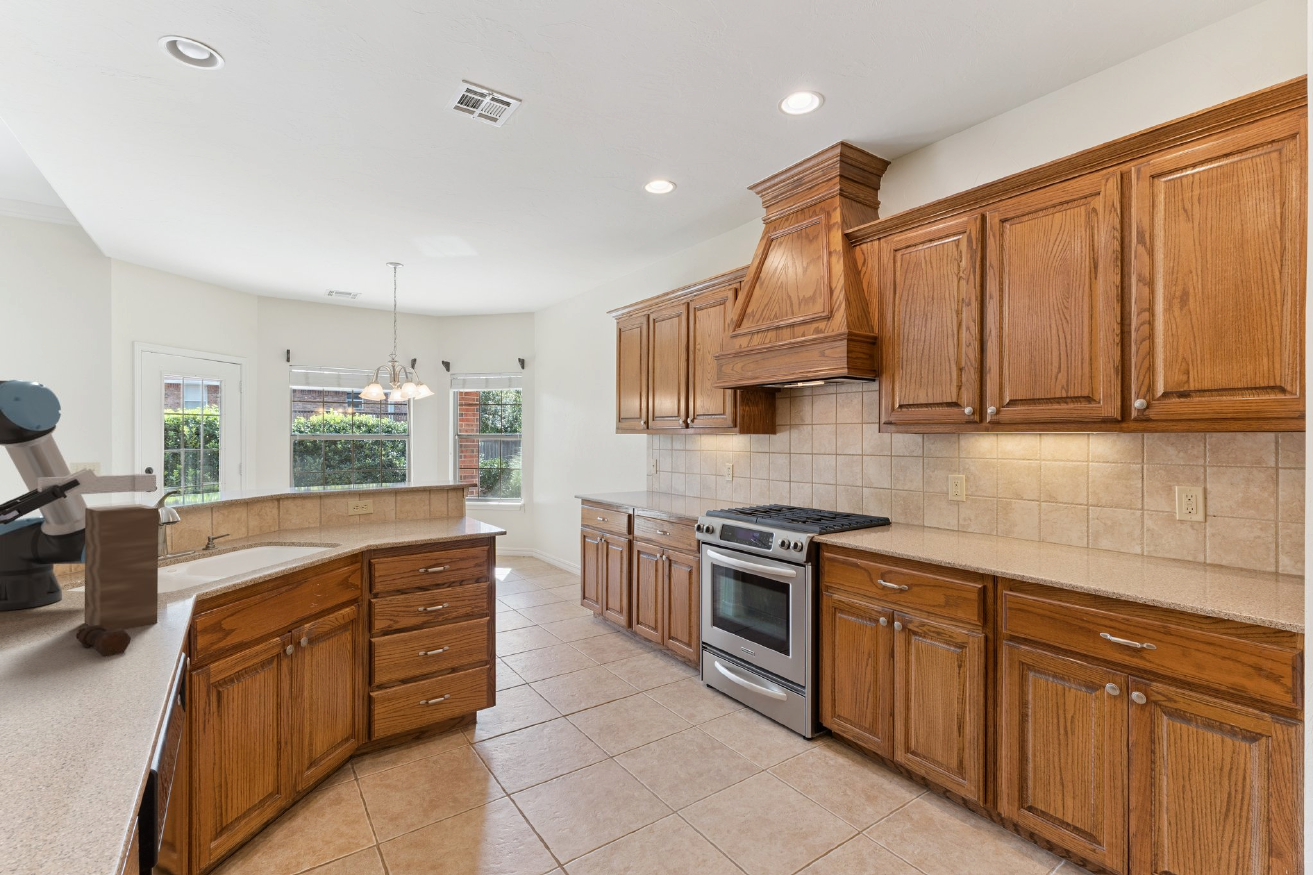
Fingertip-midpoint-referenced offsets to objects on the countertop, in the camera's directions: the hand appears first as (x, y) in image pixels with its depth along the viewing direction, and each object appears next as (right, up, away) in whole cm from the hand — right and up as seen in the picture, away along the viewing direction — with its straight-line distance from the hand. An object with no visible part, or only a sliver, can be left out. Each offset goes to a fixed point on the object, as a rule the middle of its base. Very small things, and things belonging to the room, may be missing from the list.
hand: (91, 473), depth 144 cm
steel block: (+1, -5, +1) cm, 5 cm away
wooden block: (+3, -37, +5) cm, 37 cm away
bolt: (+14, -37, -13) cm, 42 cm away
